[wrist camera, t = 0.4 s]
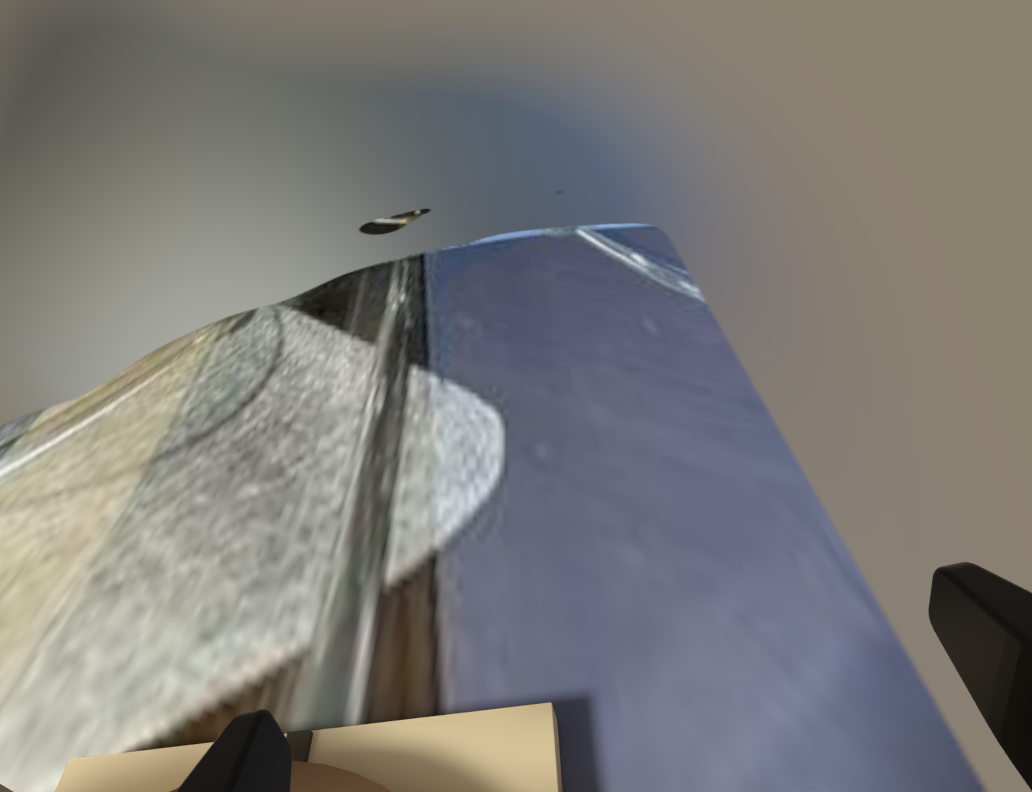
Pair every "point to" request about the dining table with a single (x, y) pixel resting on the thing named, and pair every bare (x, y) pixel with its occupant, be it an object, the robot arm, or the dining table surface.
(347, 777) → the knobbed disc on base
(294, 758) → the stand
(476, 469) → the dining table surface
